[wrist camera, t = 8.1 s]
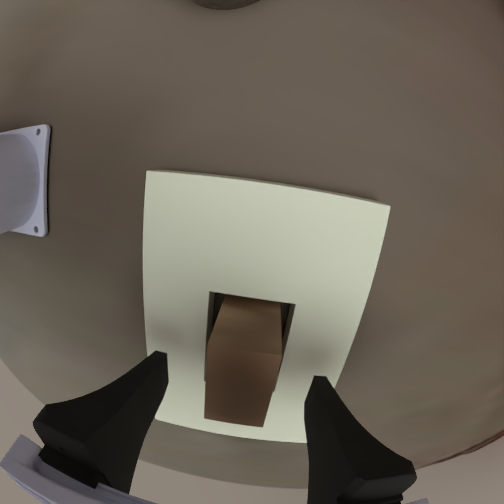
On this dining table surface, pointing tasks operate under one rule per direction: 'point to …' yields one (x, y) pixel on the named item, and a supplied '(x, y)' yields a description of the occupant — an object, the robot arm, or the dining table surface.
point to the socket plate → (254, 282)
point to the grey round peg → (224, 4)
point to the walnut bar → (243, 360)
